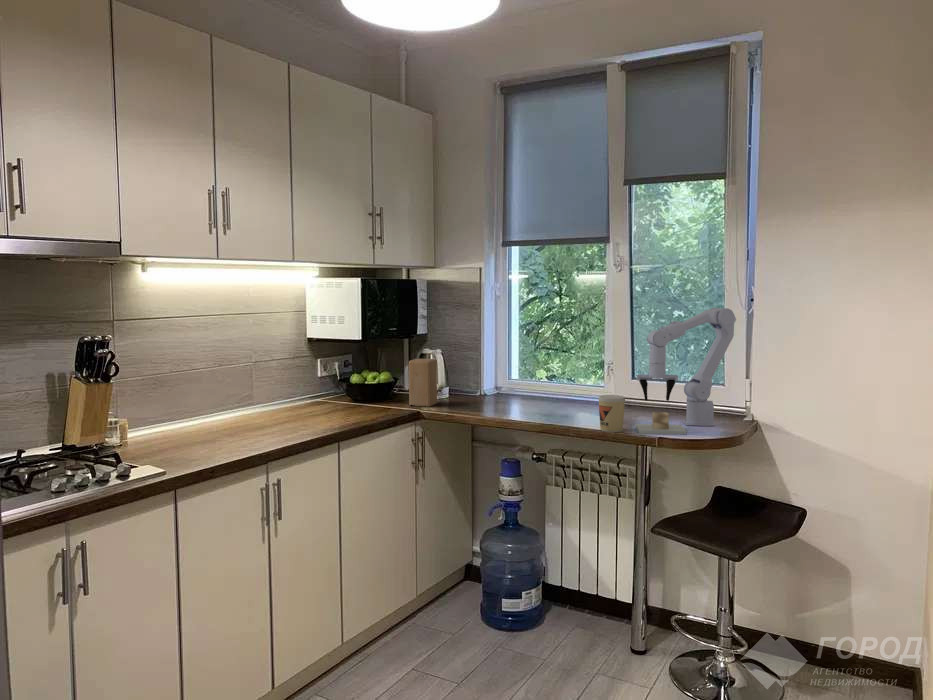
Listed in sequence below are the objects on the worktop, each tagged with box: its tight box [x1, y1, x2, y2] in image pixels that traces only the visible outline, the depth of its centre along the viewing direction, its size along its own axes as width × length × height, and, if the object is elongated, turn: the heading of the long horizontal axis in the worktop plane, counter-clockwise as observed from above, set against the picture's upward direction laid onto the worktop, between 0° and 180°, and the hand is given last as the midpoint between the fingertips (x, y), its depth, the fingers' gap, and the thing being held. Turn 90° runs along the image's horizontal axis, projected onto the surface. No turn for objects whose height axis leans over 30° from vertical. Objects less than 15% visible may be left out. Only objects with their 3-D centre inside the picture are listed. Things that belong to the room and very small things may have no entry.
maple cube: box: [651, 411, 670, 429], centre depth 254 cm, size 5×5×5 cm
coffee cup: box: [597, 394, 626, 433], centre depth 256 cm, size 9×9×12 cm
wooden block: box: [408, 358, 438, 408], centre depth 313 cm, size 10×10×20 cm
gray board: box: [634, 423, 688, 435], centre depth 254 cm, size 16×12×1 cm
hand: (656, 400), depth 263 cm, fingers open, 7 cm apart
